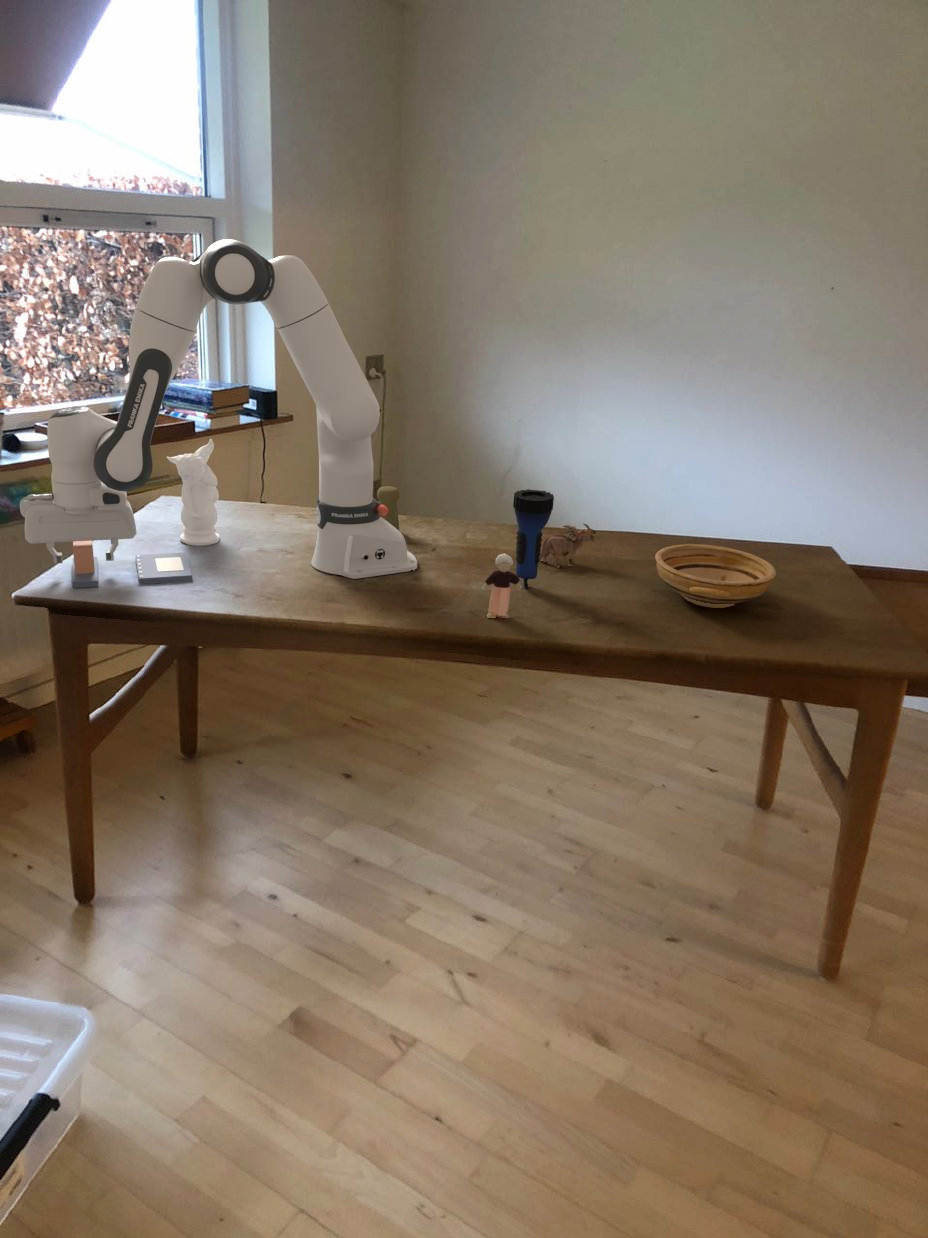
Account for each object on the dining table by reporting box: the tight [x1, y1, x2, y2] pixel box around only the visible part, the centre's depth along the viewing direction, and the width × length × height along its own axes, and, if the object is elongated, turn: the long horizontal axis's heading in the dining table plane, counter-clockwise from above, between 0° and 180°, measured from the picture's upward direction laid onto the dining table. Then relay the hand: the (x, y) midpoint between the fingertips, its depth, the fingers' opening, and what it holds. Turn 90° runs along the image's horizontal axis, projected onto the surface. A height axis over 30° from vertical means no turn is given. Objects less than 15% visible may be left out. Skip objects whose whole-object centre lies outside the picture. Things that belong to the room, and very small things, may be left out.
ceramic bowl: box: [654, 543, 777, 604], centre depth 197 cm, size 30×24×8 cm
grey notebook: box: [135, 552, 193, 585], centre depth 194 cm, size 10×14×1 cm
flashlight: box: [512, 488, 555, 589], centre depth 193 cm, size 8×8×20 cm
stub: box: [71, 541, 99, 589], centre depth 188 cm, size 5×14×6 cm, turn 20°
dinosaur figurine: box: [539, 523, 597, 566], centre depth 211 cm, size 14×6×9 cm, turn 116°
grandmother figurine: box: [480, 553, 522, 619], centre depth 180 cm, size 8×4×13 cm, turn 114°
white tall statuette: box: [166, 438, 221, 547], centre depth 210 cm, size 12×12×22 cm
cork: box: [376, 485, 400, 530], centre depth 224 cm, size 6×6×11 cm
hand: (84, 561), depth 188 cm, fingers open, 8 cm apart
